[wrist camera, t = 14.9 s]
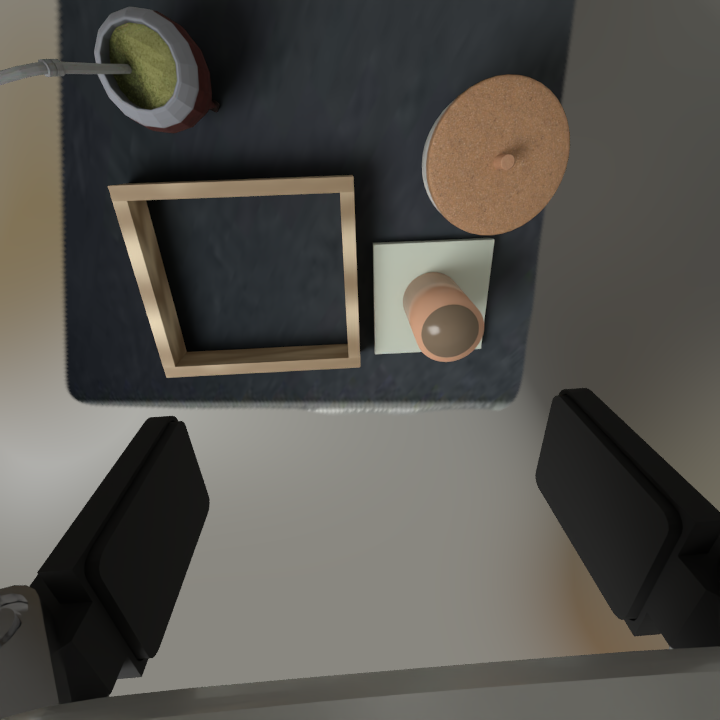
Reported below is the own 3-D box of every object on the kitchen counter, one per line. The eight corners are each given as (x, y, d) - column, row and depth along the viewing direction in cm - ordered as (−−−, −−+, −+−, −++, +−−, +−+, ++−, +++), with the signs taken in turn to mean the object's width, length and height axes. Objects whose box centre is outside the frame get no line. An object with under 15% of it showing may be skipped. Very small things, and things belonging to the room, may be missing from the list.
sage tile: (372, 242, 39) (373, 244, 38) (490, 237, 39) (494, 239, 38) (374, 350, 44) (375, 354, 43) (477, 344, 45) (480, 348, 44)
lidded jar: (439, 242, 39) (467, 265, 31) (390, 136, 34) (407, 129, 26) (540, 184, 37) (599, 191, 29) (502, 62, 32) (559, 30, 24)
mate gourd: (238, 66, 32) (166, 0, 18) (206, 161, 35) (125, 163, 21) (145, 8, 30) (-11, -114, 16) (120, 114, 33) (-28, 84, 19)
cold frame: (127, 183, 35) (107, 185, 32) (352, 175, 36) (353, 176, 33) (178, 362, 44) (166, 377, 41) (358, 352, 44) (360, 367, 41)
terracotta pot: (404, 272, 39) (418, 299, 32) (462, 271, 39) (489, 298, 32) (401, 327, 42) (413, 363, 35) (456, 325, 42) (479, 361, 35)
